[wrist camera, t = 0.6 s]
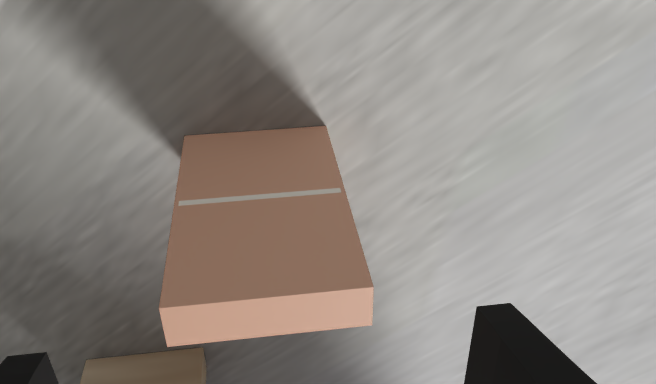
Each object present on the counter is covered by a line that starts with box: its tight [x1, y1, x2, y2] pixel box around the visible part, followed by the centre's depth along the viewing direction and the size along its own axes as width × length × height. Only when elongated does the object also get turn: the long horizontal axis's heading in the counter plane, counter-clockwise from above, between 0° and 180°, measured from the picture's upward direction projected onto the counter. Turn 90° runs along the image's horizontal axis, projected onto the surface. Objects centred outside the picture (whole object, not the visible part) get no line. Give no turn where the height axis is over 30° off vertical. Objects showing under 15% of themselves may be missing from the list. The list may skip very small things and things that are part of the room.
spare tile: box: [159, 126, 374, 347], centre depth 14 cm, size 1×4×7 cm, turn 91°
